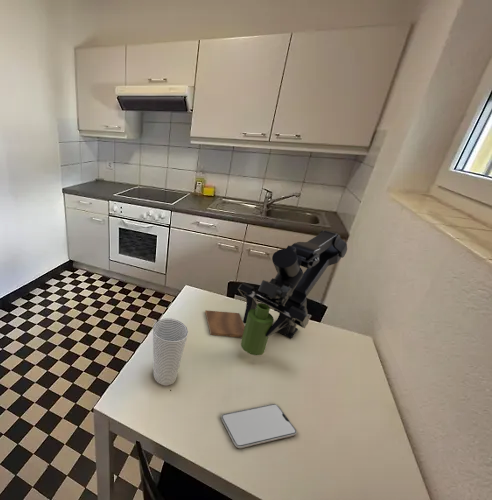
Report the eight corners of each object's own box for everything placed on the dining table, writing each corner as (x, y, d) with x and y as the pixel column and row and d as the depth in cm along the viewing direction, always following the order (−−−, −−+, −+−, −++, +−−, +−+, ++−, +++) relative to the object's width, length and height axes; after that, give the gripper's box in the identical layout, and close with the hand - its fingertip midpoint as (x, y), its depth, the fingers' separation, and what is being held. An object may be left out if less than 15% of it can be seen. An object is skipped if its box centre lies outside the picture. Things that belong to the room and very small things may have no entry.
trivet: (238, 315, 100) (239, 313, 100) (248, 338, 89) (248, 335, 89) (205, 312, 100) (205, 310, 100) (210, 335, 89) (211, 332, 89)
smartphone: (219, 414, 63) (276, 402, 67) (219, 416, 64) (275, 404, 67) (237, 447, 57) (298, 433, 60) (236, 449, 57) (298, 435, 61)
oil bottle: (257, 338, 83) (268, 299, 78) (268, 354, 77) (281, 313, 72) (237, 339, 82) (246, 300, 77) (247, 356, 76) (258, 314, 71)
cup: (142, 372, 74) (145, 325, 68) (166, 359, 79) (171, 314, 73) (163, 396, 68) (168, 346, 62) (187, 380, 73) (195, 332, 66)
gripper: (247, 257, 79) (217, 302, 77) (317, 286, 66) (283, 341, 64) (256, 274, 87) (229, 315, 85) (320, 302, 74) (290, 352, 72)
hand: (254, 329), depth 76 cm, fingers closed on oil bottle, 6 cm apart
